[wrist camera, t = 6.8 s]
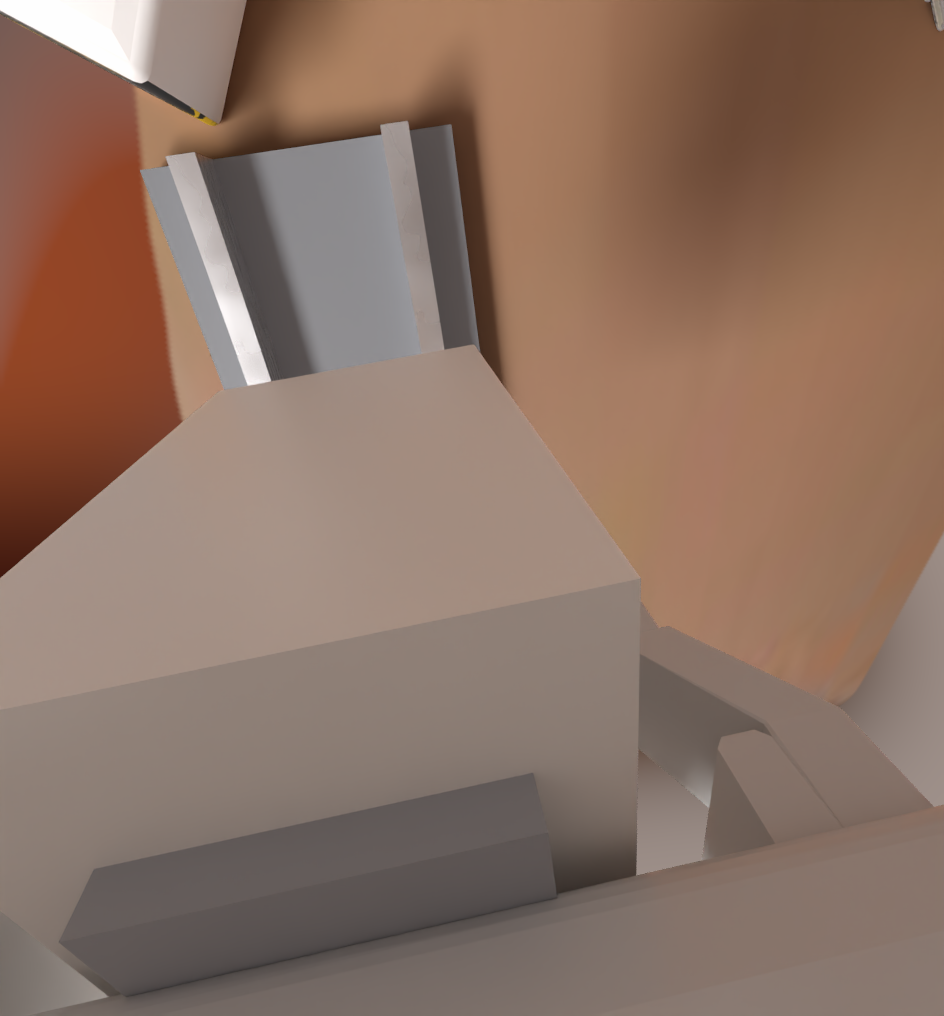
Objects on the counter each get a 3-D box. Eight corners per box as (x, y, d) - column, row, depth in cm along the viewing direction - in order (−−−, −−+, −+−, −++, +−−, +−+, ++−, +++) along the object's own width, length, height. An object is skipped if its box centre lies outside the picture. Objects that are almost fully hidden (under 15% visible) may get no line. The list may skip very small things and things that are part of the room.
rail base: (156, 174, 20) (140, 170, 19) (447, 130, 21) (451, 124, 20) (293, 542, 29) (288, 556, 28) (496, 504, 30) (501, 517, 28)
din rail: (186, 163, 19) (165, 156, 17) (407, 130, 20) (408, 120, 18) (320, 551, 28) (314, 572, 26) (470, 523, 28) (475, 542, 27)
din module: (218, 391, 9) (-294, 829, 2) (473, 344, 9) (676, 627, 2) (344, 703, 13) (288, 1193, 6) (520, 666, 13) (646, 1105, 6)
